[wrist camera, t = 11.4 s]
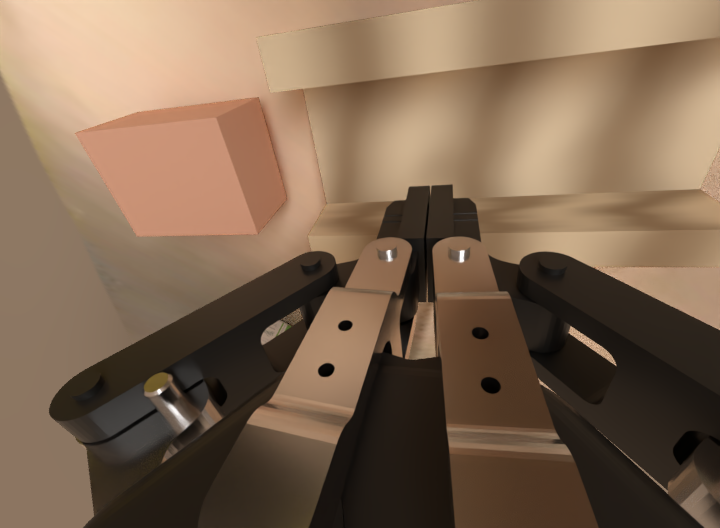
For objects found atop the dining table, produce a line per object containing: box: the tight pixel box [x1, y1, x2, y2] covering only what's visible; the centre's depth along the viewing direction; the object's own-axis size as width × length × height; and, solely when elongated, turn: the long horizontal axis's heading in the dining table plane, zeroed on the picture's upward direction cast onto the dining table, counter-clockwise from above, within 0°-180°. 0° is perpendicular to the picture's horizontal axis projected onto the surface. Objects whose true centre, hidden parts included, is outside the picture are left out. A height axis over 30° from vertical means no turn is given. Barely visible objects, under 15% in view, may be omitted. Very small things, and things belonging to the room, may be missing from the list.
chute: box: [256, 0, 720, 267], centre depth 16 cm, size 20×11×5 cm, turn 98°
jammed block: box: [75, 97, 287, 236], centre depth 19 cm, size 8×6×4 cm
